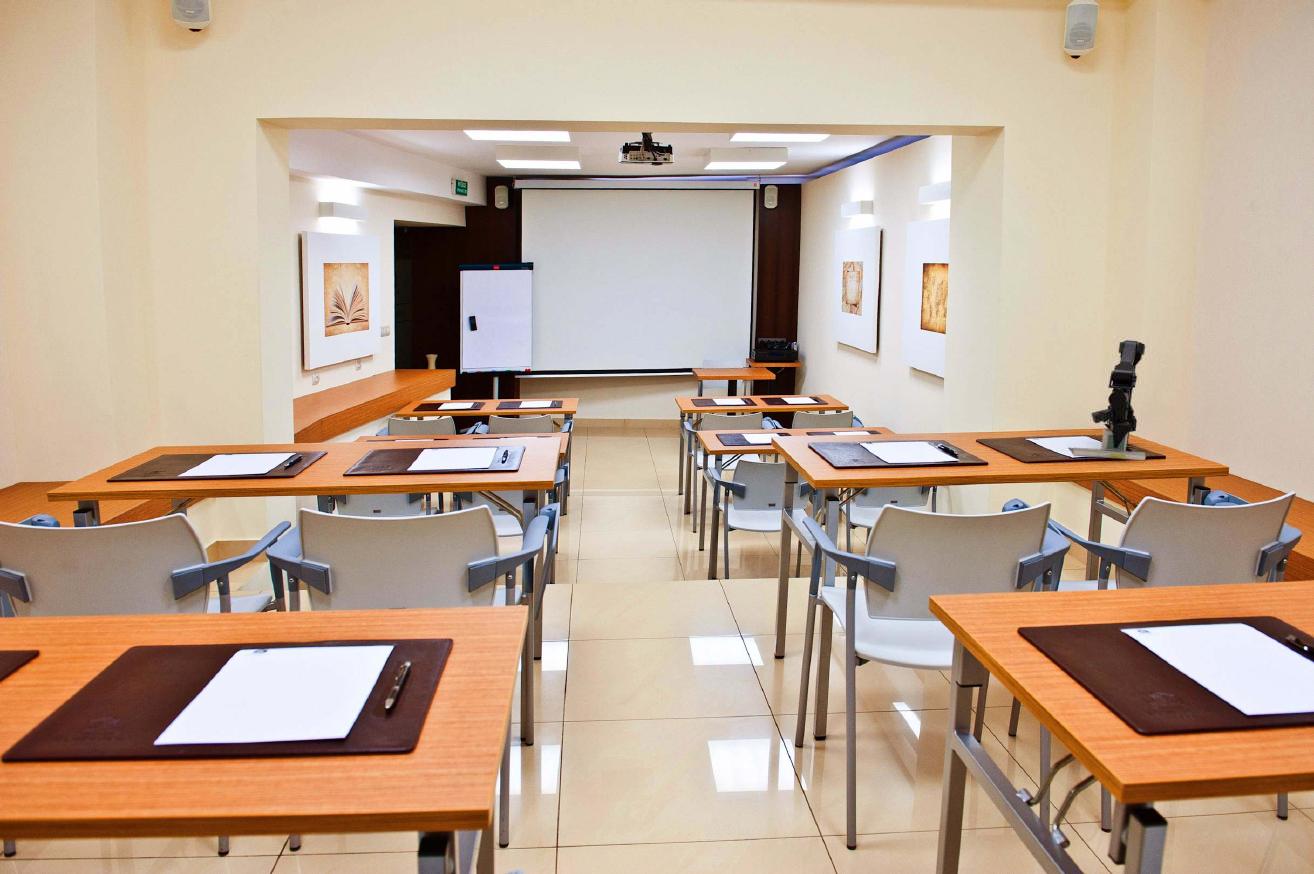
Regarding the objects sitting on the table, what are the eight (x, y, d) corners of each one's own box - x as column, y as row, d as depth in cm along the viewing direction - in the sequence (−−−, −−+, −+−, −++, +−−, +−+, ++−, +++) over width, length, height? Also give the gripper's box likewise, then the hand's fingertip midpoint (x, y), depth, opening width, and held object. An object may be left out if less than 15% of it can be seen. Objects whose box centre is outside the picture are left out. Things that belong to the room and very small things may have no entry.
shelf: (1067, 449, 339) (1068, 441, 338) (1135, 454, 333) (1136, 446, 332) (1074, 457, 326) (1075, 448, 325) (1144, 462, 320) (1145, 454, 320)
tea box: (1101, 449, 332) (1103, 428, 330) (1121, 451, 330) (1124, 429, 329) (1103, 453, 327) (1106, 431, 325) (1125, 454, 325) (1128, 432, 324)
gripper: (1089, 398, 336) (1084, 439, 339) (1100, 406, 318) (1094, 450, 321) (1122, 400, 333) (1117, 441, 336) (1135, 408, 315) (1129, 452, 319)
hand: (1113, 446), depth 328 cm, fingers closed on tea box, 5 cm apart
